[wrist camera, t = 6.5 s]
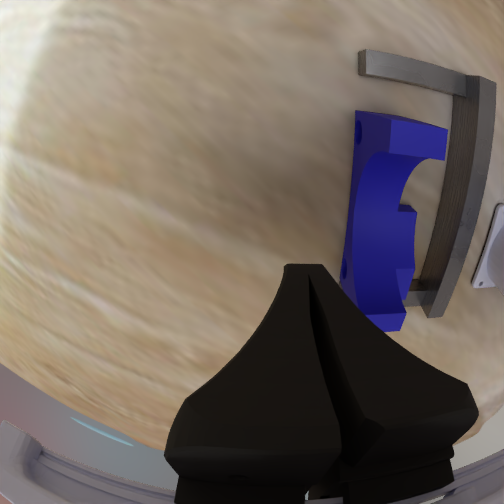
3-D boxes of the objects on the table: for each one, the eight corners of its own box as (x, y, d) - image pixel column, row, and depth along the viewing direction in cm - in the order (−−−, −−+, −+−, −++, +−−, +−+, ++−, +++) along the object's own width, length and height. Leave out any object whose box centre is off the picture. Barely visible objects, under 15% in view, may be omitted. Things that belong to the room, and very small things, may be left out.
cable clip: (392, 275, 21) (419, 329, 16) (339, 276, 22) (355, 333, 16) (418, 119, 15) (471, 135, 10) (354, 110, 16) (391, 119, 10)
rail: (470, 80, 13) (496, 83, 10) (428, 293, 22) (442, 316, 19) (358, 52, 13) (374, 45, 11) (336, 296, 22) (343, 322, 20)
